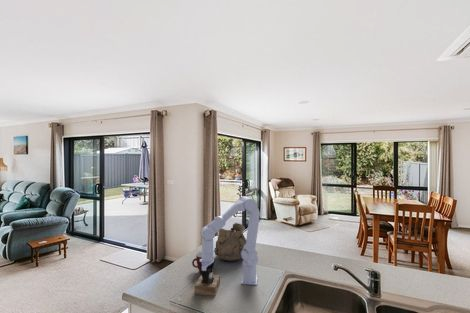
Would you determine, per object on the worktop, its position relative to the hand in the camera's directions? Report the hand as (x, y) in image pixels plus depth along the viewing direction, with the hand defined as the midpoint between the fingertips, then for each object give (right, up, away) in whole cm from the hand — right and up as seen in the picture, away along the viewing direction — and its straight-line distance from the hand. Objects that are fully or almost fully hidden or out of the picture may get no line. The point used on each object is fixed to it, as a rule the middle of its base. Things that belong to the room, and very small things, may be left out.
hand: (207, 278), depth 116 cm
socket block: (0, -5, 0) cm, 5 cm away
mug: (-6, -5, +17) cm, 19 cm away
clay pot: (+11, -6, +37) cm, 39 cm away
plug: (0, -5, 0) cm, 5 cm away
